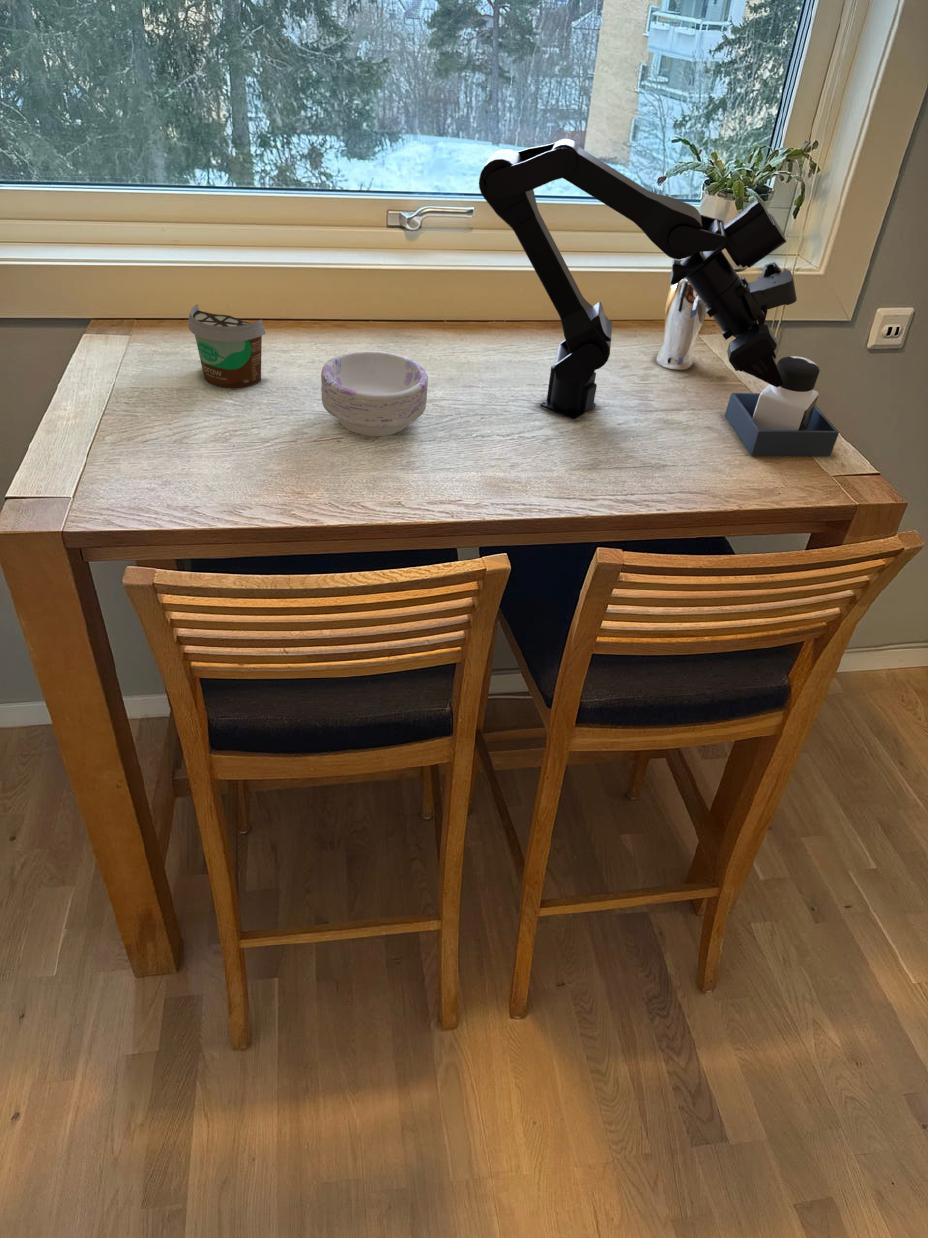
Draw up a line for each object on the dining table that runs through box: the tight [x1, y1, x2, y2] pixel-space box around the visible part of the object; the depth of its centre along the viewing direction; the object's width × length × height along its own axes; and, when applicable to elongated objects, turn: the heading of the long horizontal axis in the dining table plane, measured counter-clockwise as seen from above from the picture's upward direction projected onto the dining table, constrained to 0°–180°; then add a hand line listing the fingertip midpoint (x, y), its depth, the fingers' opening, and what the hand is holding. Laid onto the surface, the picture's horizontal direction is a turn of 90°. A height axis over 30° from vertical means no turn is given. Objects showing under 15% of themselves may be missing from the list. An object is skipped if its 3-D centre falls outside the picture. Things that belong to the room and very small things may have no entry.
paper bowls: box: [320, 350, 429, 437], centre depth 130 cm, size 15×15×8 cm
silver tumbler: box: [656, 277, 707, 371], centre depth 152 cm, size 7×7×15 cm
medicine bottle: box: [753, 355, 821, 431], centre depth 135 cm, size 7×7×12 cm
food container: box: [187, 303, 267, 389], centre depth 136 cm, size 12×6×10 cm, turn 68°
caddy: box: [724, 392, 840, 457], centre depth 137 cm, size 12×12×4 cm
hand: (776, 371), depth 132 cm, fingers open, 9 cm apart
